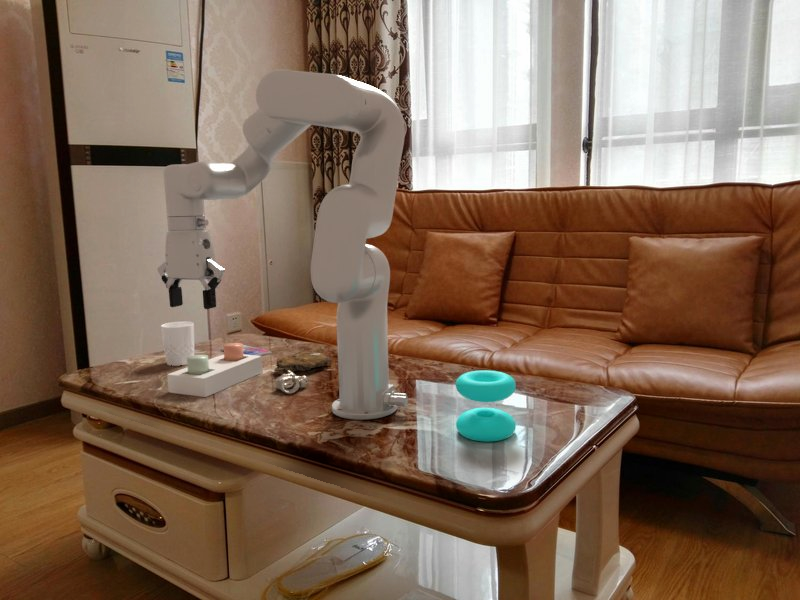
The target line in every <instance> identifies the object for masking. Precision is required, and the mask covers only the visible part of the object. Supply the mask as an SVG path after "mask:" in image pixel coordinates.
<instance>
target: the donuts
mask: <svg viewBox="0 0 800 600" xmlns="http://www.w3.org/2000/svg"><path fill="white" fill-rule="evenodd" d="M455 388H456V391H457V392H458V393H459V394H460V395H461V396H462V397H464V398H466V399H468V400H470V401H474V402H480V403H494V402H500V401H503V400H506V399H508V398H510V397H511V396H512V395H513V394H514V393H515V391H516V388H517V385H516V381H515V378H514V377H512V376H511V375H509V374H507V373H505V372H503V371H497V370H486V369H485V370H481V369H480V370H472V371H468V372H465V373H463V374H461V375H460V376H458V377H457V379H456V381H455ZM455 423H456V424H455V425H456V430H457V431H458V433H459V434H460V435H461V436H463V437H464V438H466V439H469V440H470V441H471V440H472V441H477V442H486V443H487V442H488V443H489V442H499V441H502V440H503V441H504V440H506V439H508V438H510V437H511V436H512V435H513V434H514V433H515V432H516V431H515V430H516V428H517V427H516V426H517V425H516V421H515V419H514V418H513V416H511V414H509V413H508V412H506V411H504V410H501V409H499V408H493V407H475V408H471V409H468V410H466V411H464V412H462V413H461V414H460V415H459V416H458V418H457V420H456V422H455Z"/></svg>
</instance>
